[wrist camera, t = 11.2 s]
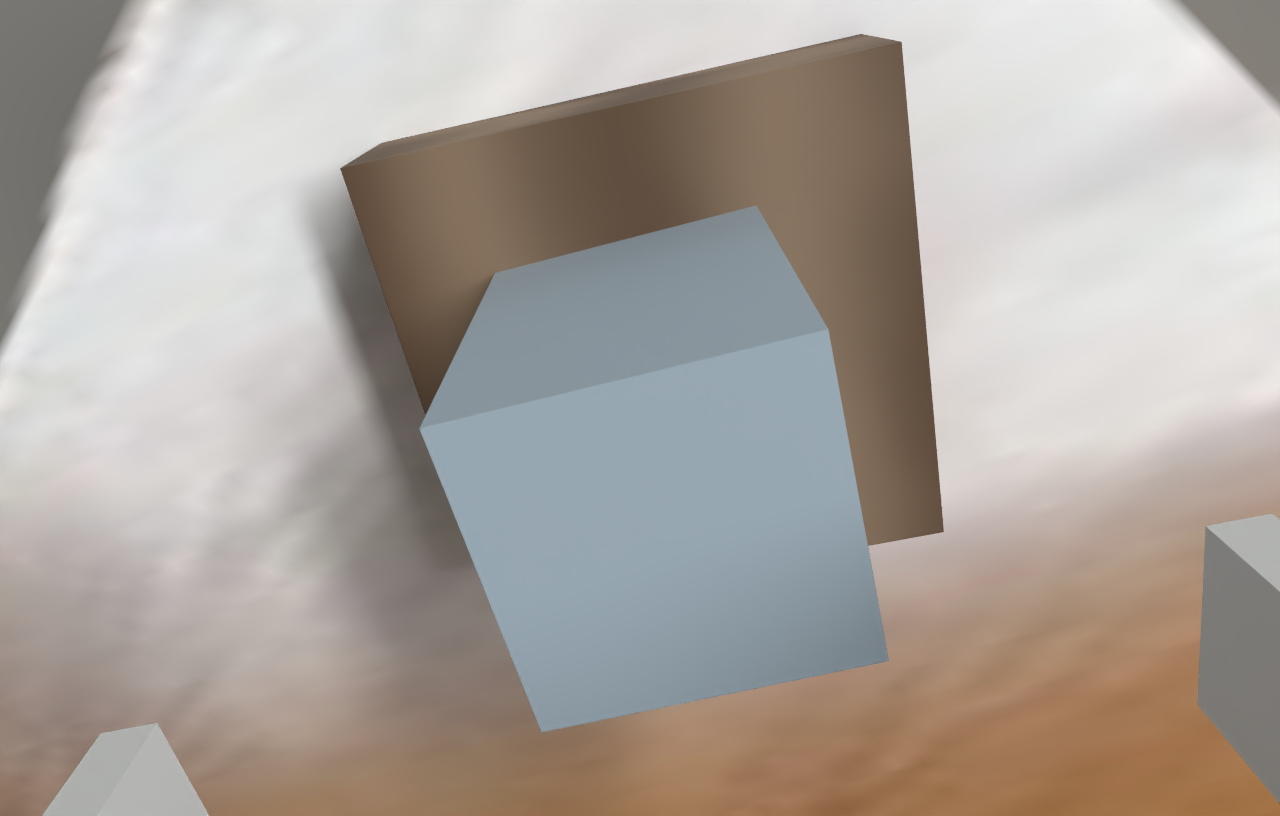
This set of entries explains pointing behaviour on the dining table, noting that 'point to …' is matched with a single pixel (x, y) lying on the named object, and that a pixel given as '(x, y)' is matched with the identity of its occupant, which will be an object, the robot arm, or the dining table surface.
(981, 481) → the dining table surface
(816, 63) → the walnut block
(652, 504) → the slate block
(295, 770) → the dining table surface
